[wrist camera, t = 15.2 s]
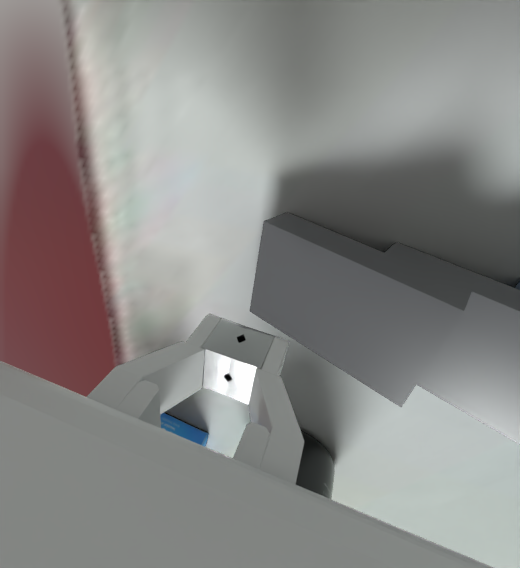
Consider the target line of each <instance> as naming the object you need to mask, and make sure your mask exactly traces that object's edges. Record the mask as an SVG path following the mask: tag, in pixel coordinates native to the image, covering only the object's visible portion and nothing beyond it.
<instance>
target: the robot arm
mask: <svg viewBox="0 0 520 568" xmlns="http://www.w3.org/2000/svg"><path fill="white" fill-rule="evenodd" d="M288 346H289V340H286V339H283V338H280V337H277V336H273V335H270V334H267V333H264V332H261V331H258V330H255V329H252V328H248V327H246V326H243V325H240V324H238V323H235V322H232V321H229V320H226V319H224V318H220V317H217V316H215V315H212V314H208V315H207V316H206V317H205V318H204V319H203V321H202V322H201V323H200V324H199V326H198V327H197V328H196V330H195V331H194V332H193V334H192V335H191V336H190V337H189V339H188V340H187V341H186V343H185V342H182V341H181V342H178V343H176V344H173V345H171V346H168V347H166V348H163V349H160V350H158V351H155V352H153V353H150V354H148V355H145V356H142V357H140V358H137V359H135V360H132V361H129V362H127V363H124V364H122V365H119V366H117V367H115V368H114V369H113V370H112V371H111V372H110V373H109V374H108V375H107V376H106V377H105V378H104V380H102V381H101V383H100V384H99V385H98V386H97V387H96V388H95V389H94V390H93V391H92V392H91V393H90V394H89V395H88V396H87V397H85V396H82V395H80V394H77V393H75V392H73V391H71V390H68V389H66V388H64V387H61V386H59V385H56V384H54V383H52V382H49V381H47V380H44V379H42V378H40V377H37V376H35V375H32V374H30V373H28V372H25V371H23V370H21V369H18V368H16V367H13V366H11V365H8V364H6V363H4V362H1V361H0V568H493V567H491V566H489V565H486V564H484V563H481V562H479V561H477V560H474V559H472V558H470V557H467V556H465V555H462V554H460V553H458V552H455V551H453V550H450V549H448V548H446V547H443V546H441V545H438V544H436V543H434V542H431V541H429V540H427V539H424V538H422V537H419V536H417V535H415V534H412V533H410V532H407V531H405V530H403V529H400V528H398V527H396V526H393V525H391V524H388V523H386V522H384V521H381V520H379V519H376V518H374V517H372V516H369V515H367V514H364V513H362V512H360V511H357V510H355V509H353V508H350V507H348V506H345V505H343V504H341V503H338V502H336V501H333V500H331V499H329V498H326V497H324V496H322V495H319V494H317V493H314V492H312V491H310V490H307V489H305V488H302V487H300V486H298V485H295V484H296V480H297V475H298V470H299V465H300V460H301V456H302V451H303V446H304V439H303V436H302V433H301V430H300V427H299V425H298V422H297V419H296V416H295V413H294V411H293V408H292V405H291V402H290V399H289V396H288V394H287V391H286V388H285V385H284V382H283V380H282V377H280V374H281V370H282V367H283V363H284V360H285V356H286V353H287V349H288ZM202 387H203V388H206V389H209V390H212V391H215V392H218V393H221V394H223V395H226V396H229V397H231V398H233V399H236V400H238V401H241V402H243V403H245V404H248V408H249V414H250V419H251V423H249V424H247V425H246V428H245V430H244V433H243V435H242V438H241V440H240V442H239V445H238V447H237V450H236V452H235V454H234V457H233V458H231V457H228V456H226V455H224V454H221V453H219V452H216V451H214V450H212V449H209V448H207V447H204V446H202V445H200V444H197V443H195V442H192V441H190V440H188V439H185V438H183V437H180V436H178V435H176V434H173V433H171V432H169V431H166V430H164V429H161V419H160V415H161V414H162V413H164V412H165V411H167V410H169V409H170V408H172V407H173V406H175V405H177V404H178V403H180V402H181V401H183V400H184V399H186V398H188V397H189V396H191V395H192V394H194V393H196V392H197V391H199V390H200V389H202Z"/></svg>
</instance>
